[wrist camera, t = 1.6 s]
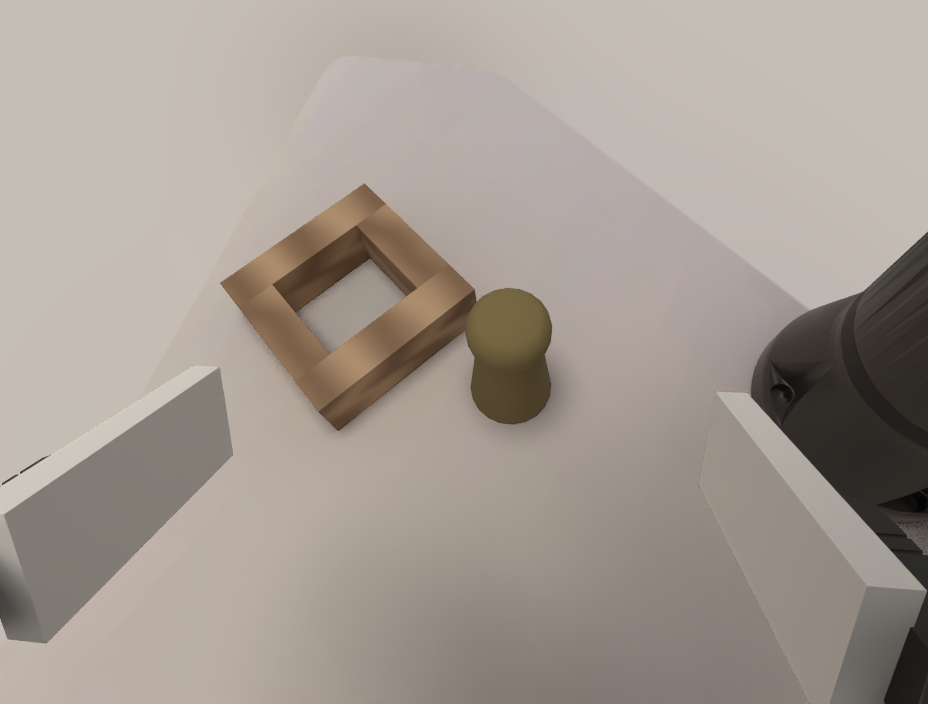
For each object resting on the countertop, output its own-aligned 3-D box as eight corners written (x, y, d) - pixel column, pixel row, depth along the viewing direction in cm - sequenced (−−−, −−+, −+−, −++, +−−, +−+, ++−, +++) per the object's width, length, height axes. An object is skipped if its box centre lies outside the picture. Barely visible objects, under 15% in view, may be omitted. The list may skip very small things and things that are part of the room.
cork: (471, 425, 40) (455, 366, 31) (470, 351, 43) (455, 274, 33) (553, 422, 40) (565, 362, 30) (547, 348, 43) (556, 269, 33)
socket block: (377, 218, 49) (364, 183, 45) (478, 318, 44) (474, 289, 40) (246, 311, 46) (219, 283, 42) (338, 430, 41) (318, 411, 37)
